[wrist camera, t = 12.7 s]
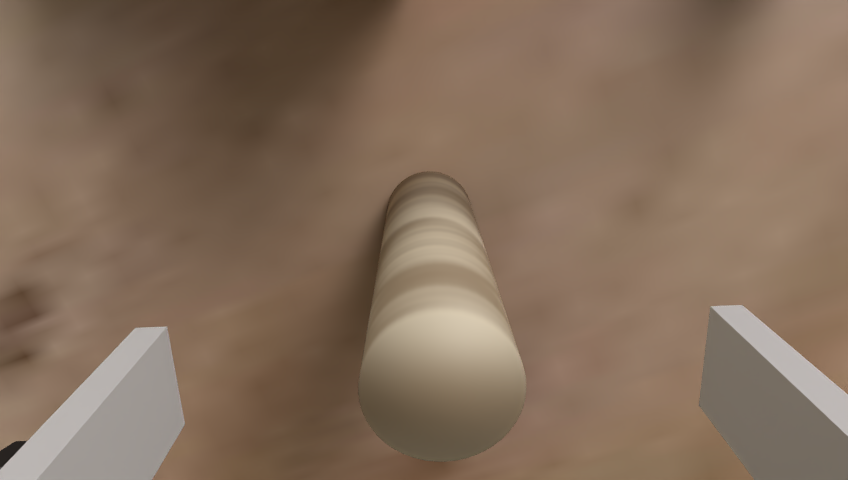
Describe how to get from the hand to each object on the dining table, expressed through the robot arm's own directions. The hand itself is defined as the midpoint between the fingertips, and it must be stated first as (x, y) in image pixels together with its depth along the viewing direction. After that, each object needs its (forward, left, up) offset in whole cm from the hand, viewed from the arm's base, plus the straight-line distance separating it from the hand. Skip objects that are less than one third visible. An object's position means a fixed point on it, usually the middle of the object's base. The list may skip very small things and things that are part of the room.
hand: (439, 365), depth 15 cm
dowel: (0, 0, -16) cm, 16 cm away
